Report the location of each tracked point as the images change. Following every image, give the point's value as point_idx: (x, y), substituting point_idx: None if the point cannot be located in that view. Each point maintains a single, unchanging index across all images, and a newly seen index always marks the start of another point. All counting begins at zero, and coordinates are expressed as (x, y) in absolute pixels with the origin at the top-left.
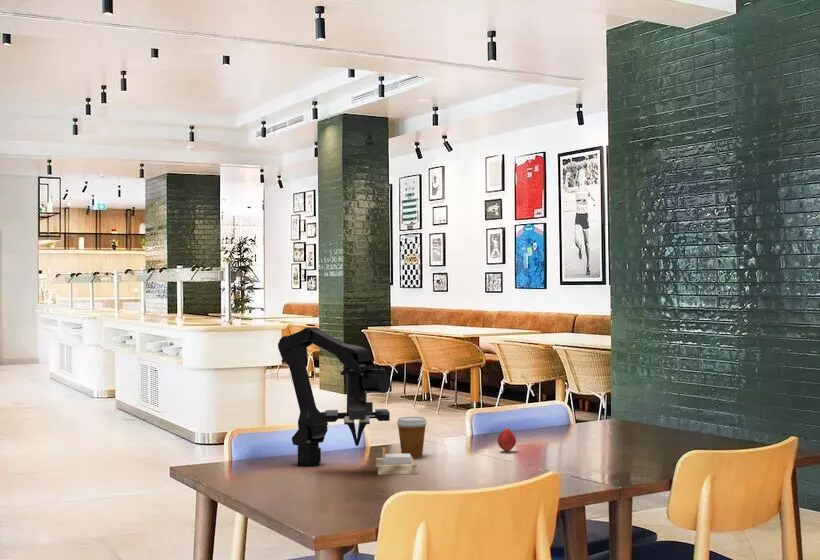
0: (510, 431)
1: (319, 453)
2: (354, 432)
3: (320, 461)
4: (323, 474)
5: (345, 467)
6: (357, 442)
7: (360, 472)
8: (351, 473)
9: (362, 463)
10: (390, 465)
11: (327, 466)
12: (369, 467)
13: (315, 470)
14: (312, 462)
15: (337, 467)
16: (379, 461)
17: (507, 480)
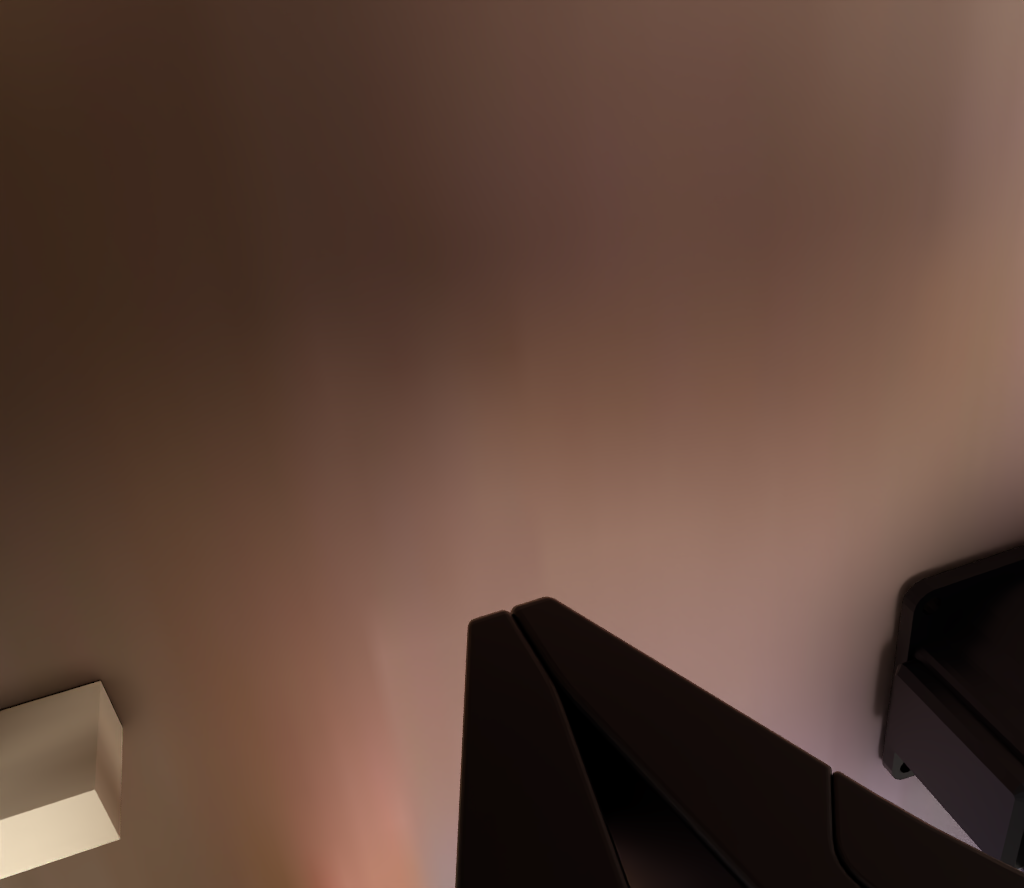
0: None
1: (989, 743)
2: (816, 871)
3: (904, 675)
4: (896, 20)
5: (580, 590)
6: (523, 656)
7: (284, 262)
8: (438, 149)
9: (383, 858)
10: None
11: (805, 595)
12: (221, 670)
13: (967, 327)
14: (995, 606)
15: (685, 567)
16: (32, 776)
17: None
